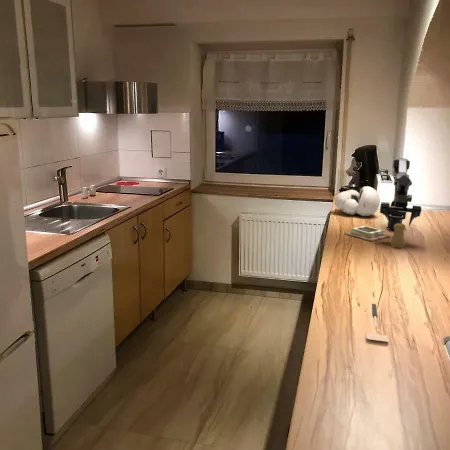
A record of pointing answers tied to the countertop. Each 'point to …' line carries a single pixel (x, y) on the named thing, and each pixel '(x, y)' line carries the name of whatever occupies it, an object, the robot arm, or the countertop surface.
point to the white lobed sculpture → (358, 201)
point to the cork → (398, 236)
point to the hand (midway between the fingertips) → (399, 224)
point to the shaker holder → (367, 233)
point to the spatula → (375, 336)
